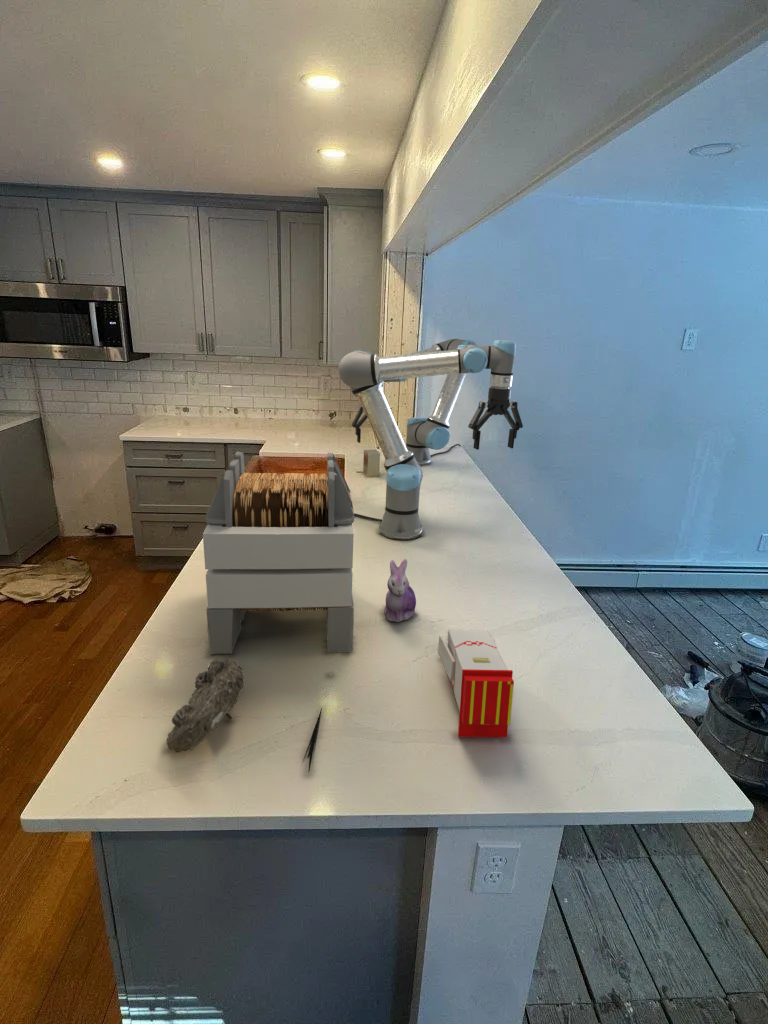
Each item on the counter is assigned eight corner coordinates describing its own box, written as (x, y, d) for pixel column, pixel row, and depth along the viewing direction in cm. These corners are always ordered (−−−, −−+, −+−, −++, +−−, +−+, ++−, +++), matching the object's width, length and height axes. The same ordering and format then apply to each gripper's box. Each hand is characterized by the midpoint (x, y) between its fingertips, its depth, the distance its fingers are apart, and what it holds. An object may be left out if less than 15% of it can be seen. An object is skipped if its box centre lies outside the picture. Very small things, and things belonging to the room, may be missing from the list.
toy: (488, 613, 130) (523, 677, 101) (484, 667, 133) (517, 744, 104) (435, 612, 130) (455, 676, 101) (432, 666, 133) (451, 743, 103)
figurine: (392, 627, 141) (395, 572, 136) (374, 608, 149) (376, 556, 144) (425, 619, 145) (429, 566, 140) (405, 601, 154) (408, 550, 149)
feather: (331, 679, 122) (336, 673, 122) (307, 777, 96) (313, 769, 95) (324, 675, 122) (329, 669, 121) (298, 772, 95) (304, 764, 95)
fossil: (192, 660, 117) (244, 628, 112) (224, 691, 120) (276, 661, 115) (142, 746, 98) (202, 712, 93) (182, 779, 101) (242, 748, 96)
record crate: (229, 585, 158) (221, 442, 144) (346, 584, 161) (350, 444, 148) (206, 656, 126) (193, 481, 112) (353, 652, 130) (358, 483, 116)
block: (367, 477, 265) (368, 453, 261) (363, 472, 271) (363, 449, 268) (379, 476, 267) (380, 453, 263) (374, 472, 273) (375, 449, 269)
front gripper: (472, 389, 187) (466, 451, 194) (537, 389, 194) (529, 449, 202) (462, 385, 194) (456, 446, 201) (526, 386, 201) (518, 444, 208)
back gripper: (350, 397, 249) (349, 444, 256) (403, 396, 257) (400, 442, 264) (345, 394, 256) (344, 440, 263) (397, 394, 263) (395, 439, 271)
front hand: (493, 448), depth 201 cm, fingers open, 13 cm apart
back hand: (372, 441), depth 263 cm, fingers open, 13 cm apart
